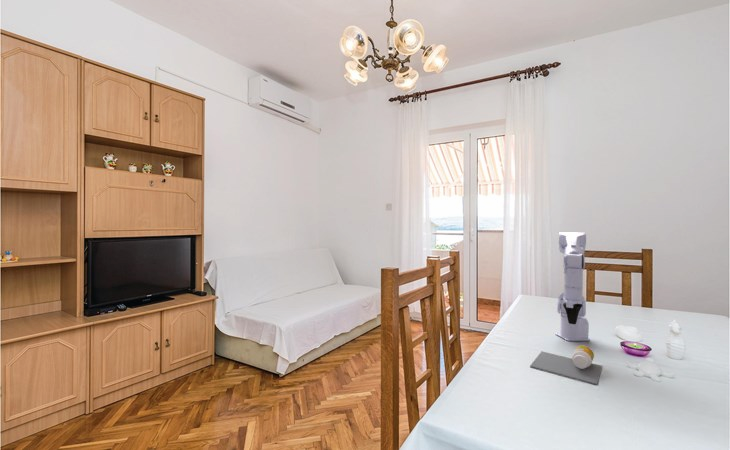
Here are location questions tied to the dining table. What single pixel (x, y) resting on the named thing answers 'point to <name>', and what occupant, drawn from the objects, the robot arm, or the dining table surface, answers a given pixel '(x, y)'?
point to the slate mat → (566, 367)
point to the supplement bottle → (582, 357)
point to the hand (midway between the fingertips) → (572, 323)
